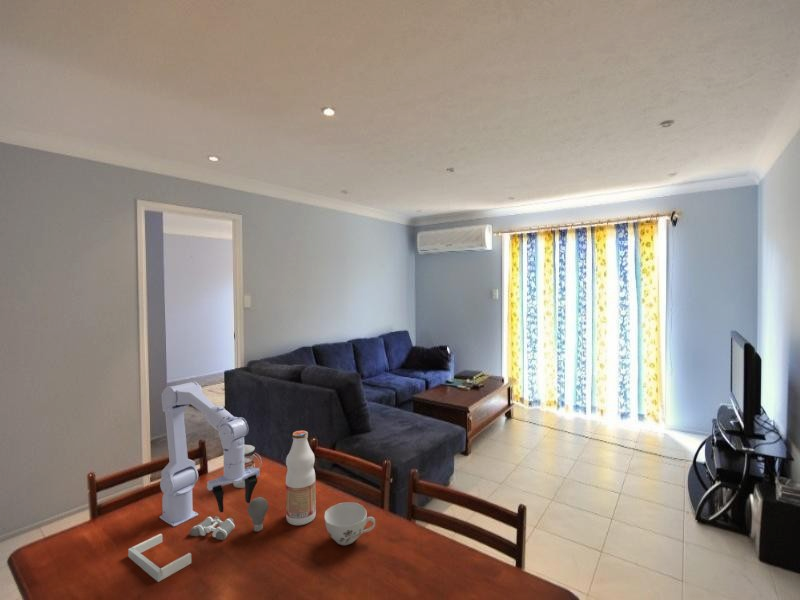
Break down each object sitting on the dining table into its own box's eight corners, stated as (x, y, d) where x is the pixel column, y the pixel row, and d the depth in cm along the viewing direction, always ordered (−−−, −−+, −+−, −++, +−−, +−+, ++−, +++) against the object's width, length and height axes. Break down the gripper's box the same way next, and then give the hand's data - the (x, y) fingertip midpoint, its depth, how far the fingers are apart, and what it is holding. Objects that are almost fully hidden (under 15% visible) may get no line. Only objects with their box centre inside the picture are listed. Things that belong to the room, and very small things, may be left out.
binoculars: (189, 537, 119) (189, 526, 119) (207, 522, 127) (206, 512, 127) (224, 542, 117) (224, 530, 117) (240, 526, 125) (240, 515, 125)
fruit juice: (296, 529, 122) (295, 440, 122) (280, 518, 129) (279, 433, 128) (321, 517, 129) (320, 432, 129) (305, 507, 135) (304, 425, 135)
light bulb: (261, 537, 119) (261, 504, 119) (244, 534, 120) (243, 502, 120) (272, 525, 125) (271, 494, 124) (255, 523, 126) (254, 492, 126)
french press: (238, 478, 157) (237, 416, 157) (266, 479, 156) (265, 417, 156) (225, 490, 147) (224, 424, 147) (254, 492, 146) (254, 425, 146)
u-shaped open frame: (128, 557, 110) (128, 549, 110) (160, 541, 117) (160, 533, 117) (158, 582, 100) (158, 572, 100) (191, 563, 107) (191, 553, 107)
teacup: (319, 552, 111) (319, 524, 111) (329, 526, 124) (329, 501, 124) (373, 553, 111) (372, 525, 111) (377, 527, 123) (376, 502, 123)
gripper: (211, 472, 109) (212, 521, 110) (263, 458, 119) (263, 503, 119) (205, 464, 115) (205, 510, 115) (254, 451, 124) (255, 494, 124)
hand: (234, 506), depth 117 cm, fingers open, 7 cm apart
